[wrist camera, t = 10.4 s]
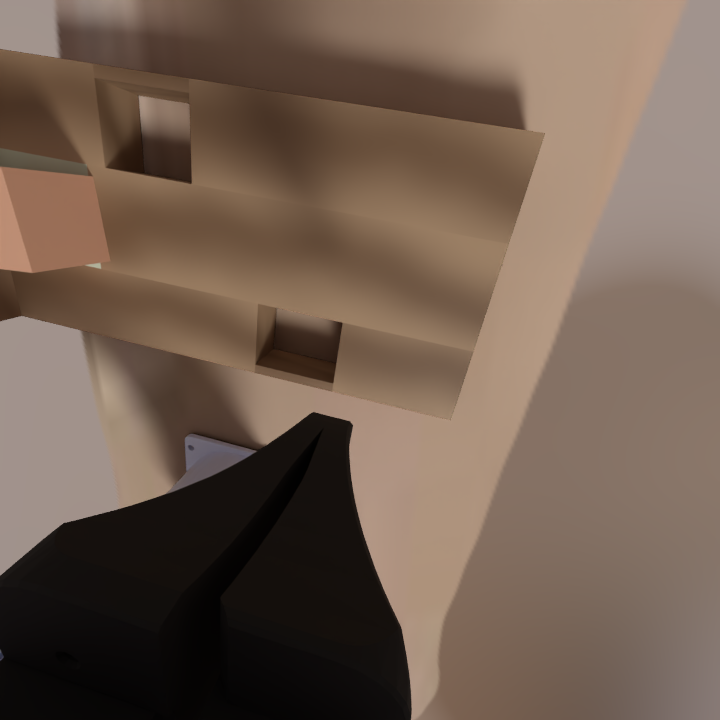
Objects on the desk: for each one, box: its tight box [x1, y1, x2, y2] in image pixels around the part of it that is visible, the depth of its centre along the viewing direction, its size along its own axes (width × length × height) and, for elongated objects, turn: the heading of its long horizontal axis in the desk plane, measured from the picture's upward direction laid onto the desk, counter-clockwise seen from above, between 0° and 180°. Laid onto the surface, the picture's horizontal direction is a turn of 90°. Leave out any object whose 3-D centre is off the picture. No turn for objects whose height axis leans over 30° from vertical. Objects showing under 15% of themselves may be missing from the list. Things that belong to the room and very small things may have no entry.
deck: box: [0, 49, 545, 420], centre depth 17 cm, size 13×27×6 cm, turn 80°
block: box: [0, 167, 110, 273], centre depth 16 cm, size 4×4×4 cm
